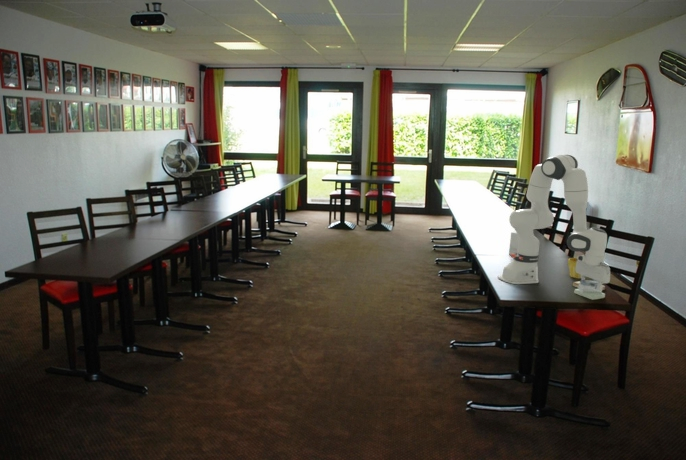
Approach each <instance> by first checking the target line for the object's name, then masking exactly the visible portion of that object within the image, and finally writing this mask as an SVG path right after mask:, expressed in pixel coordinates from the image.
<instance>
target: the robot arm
mask: <svg viewBox="0 0 686 460" xmlns="http://www.w3.org/2000/svg"><path fill="white" fill-rule="evenodd" d="M578 166H579V162H578V160H577V159H576V157H574V156H573V155H569V154H559V155H555V156H550V157H548V158H546V159H545V160H543V161H542V163H540V164H539V163H538V164H537V165H535V166H534V169H533V171H532V173H531V175H530V178H529V183H528V185H527V192H526V194H525V195H526V199H527V201H529V202H530V203H531V207H530V208H522V209H520V208H519V209H517V210H514V211H512V212H511V213H510V214H509V219H508V220H509V224H510V226H511V227H512V228H513V229H514V231H516V233H517V236H518V248H517V252H516V254H511V255H510V257H511V258H513V259H512V261H510V262H509V263H508V264H507V265H505V266H504V268H503V271H502V274H500V275H497V279H498V280H501V281H503V282H505V283H509V284H513V285H525V284H526V285H528V284H539V276H538V275H539V273H538V272H539V267H538V262H539V256H540V255H539V250H540V249H539V248H540V239H539V238H538V237H536V236H535V234H534V230H540V229H541V230H542V229H546V228H550V227H551V226H552V225H553V223H554V219H555V218H554V214H553V211H551V210H550V207H549V196H550V191H551V187H552V183H553V180H556V181H560V180H561V181H562V182H563V195H564V201H565V204H566V206H567V207H568V208H569V209H570V210H571V213H572V219H573V230H572V233H571V234H570V235H569V236H568V237H567V240H566V246H567V247H568V249H569V250H570V251H572V252H580V253H581V252H583V253H584V252H585V254H582V255H577V256H576V258H577V259H578V260H577V262H576V267H575V271H576V273H579V274H581V278H580V280H586V277H587V278H589V279H591V280H593V281H598V282H597V283H598V285H597V286H595V289H597V290H600V286H601V285H604V284H609V283H610V281H611V268H610V266H609V264H605V256H606V253H605V250H606V248H607V245H608V244H607V242H608V234H607V232H606V231H605V229H602V228H599V227H595V226H593V227H590V228H588V223H587V205H588V200H589V186H588V185H589V183H588V179H587V175H586V171H585V170H583V169H582V168H578Z"/></svg>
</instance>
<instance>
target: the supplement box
mask: <svg viewBox="0 0 686 460" xmlns="http://www.w3.org/2000/svg"><path fill="white" fill-rule="evenodd" d="M509 240H510V241H509V242H510V243H509V251H508V255H509V256H511V254H516V252H517V248H518V236H517V233H516V230H512V231H511V232H510V239H509Z"/></svg>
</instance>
